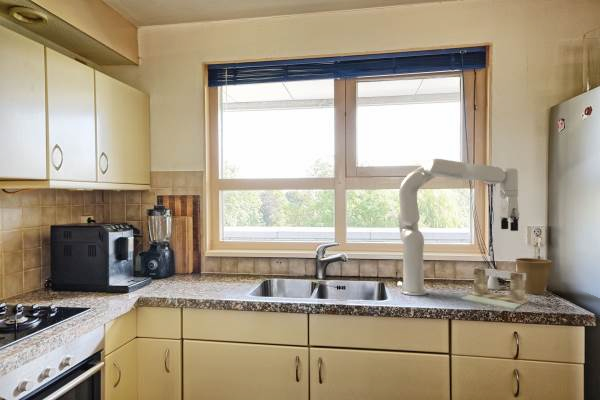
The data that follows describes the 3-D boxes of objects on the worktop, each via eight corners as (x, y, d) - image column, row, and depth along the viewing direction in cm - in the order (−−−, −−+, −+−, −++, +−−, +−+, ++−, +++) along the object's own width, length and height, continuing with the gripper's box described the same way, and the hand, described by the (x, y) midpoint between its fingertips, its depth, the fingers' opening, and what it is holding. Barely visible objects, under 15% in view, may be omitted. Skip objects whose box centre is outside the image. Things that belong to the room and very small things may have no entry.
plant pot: (559, 294, 178) (559, 261, 178) (537, 297, 173) (536, 263, 172) (530, 287, 192) (530, 256, 192) (509, 290, 186) (508, 258, 186)
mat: (461, 299, 171) (461, 298, 171) (469, 296, 177) (469, 294, 177) (514, 309, 155) (514, 308, 155) (520, 305, 161) (520, 304, 161)
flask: (502, 290, 187) (502, 270, 187) (487, 290, 188) (487, 270, 188) (498, 287, 194) (498, 268, 194) (483, 286, 196) (483, 267, 196)
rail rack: (471, 295, 178) (470, 268, 178) (477, 292, 184) (477, 266, 184) (522, 304, 162) (522, 274, 162) (528, 301, 167) (528, 272, 167)
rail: (473, 273, 180) (473, 267, 180) (475, 272, 182) (475, 267, 182) (524, 280, 164) (524, 274, 164) (526, 279, 166) (526, 273, 166)
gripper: (493, 194, 187) (493, 228, 188) (509, 194, 170) (509, 231, 170) (508, 194, 187) (509, 228, 187) (526, 193, 170) (526, 231, 170)
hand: (509, 229), depth 179 cm, fingers open, 9 cm apart
